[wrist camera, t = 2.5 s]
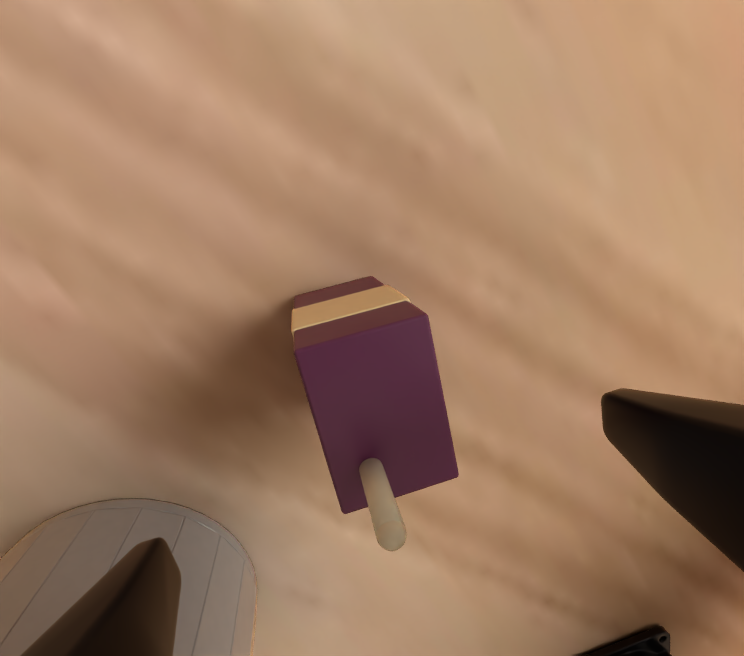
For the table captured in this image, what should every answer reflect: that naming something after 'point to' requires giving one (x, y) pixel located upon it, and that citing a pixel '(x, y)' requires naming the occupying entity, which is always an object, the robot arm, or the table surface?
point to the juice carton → (373, 397)
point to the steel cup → (106, 548)
